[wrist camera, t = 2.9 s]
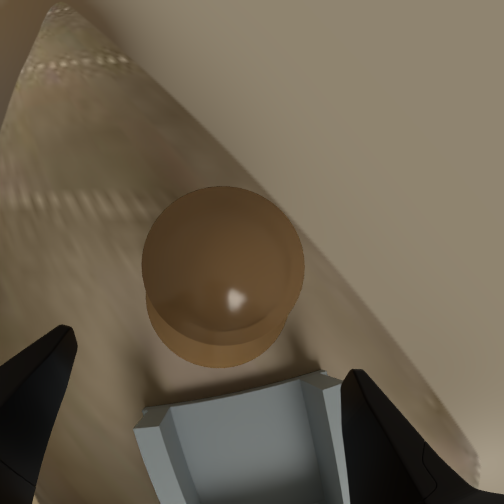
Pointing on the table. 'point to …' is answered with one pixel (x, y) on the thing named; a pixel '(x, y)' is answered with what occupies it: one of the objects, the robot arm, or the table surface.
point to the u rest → (249, 446)
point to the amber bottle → (221, 275)
